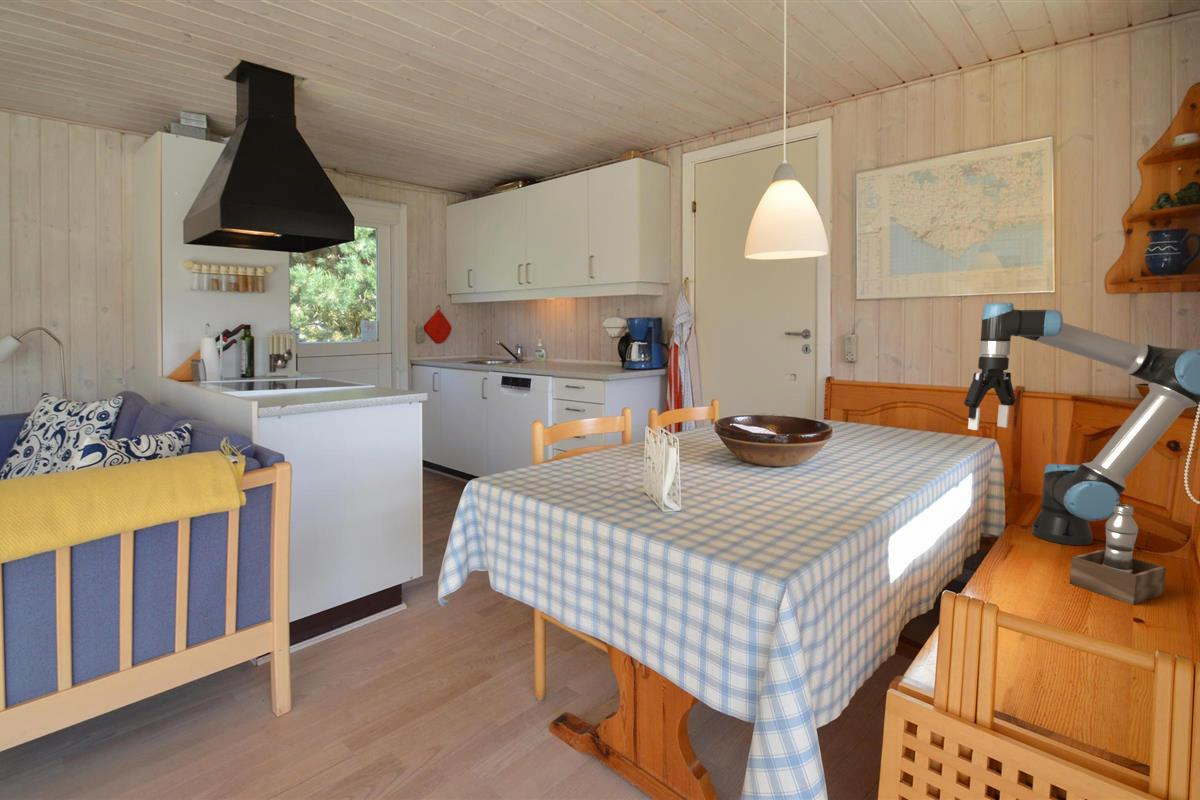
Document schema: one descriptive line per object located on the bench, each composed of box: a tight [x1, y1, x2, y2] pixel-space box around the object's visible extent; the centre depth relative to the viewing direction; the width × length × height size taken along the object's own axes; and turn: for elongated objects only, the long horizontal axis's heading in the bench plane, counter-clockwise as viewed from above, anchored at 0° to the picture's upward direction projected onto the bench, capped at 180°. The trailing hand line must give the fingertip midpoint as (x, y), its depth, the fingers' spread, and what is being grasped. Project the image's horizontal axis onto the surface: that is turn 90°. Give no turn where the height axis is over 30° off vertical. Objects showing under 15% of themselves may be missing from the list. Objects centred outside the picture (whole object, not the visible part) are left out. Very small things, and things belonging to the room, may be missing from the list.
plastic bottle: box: [1102, 503, 1139, 574], centre depth 158 cm, size 6×7×20 cm
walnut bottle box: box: [1068, 549, 1167, 606], centre depth 158 cm, size 14×14×7 cm
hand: (987, 428), depth 189 cm, fingers open, 13 cm apart
